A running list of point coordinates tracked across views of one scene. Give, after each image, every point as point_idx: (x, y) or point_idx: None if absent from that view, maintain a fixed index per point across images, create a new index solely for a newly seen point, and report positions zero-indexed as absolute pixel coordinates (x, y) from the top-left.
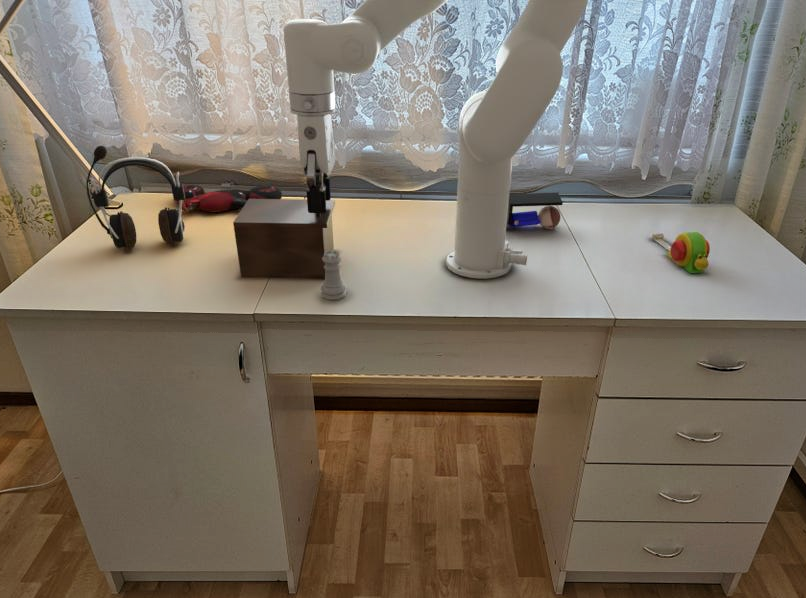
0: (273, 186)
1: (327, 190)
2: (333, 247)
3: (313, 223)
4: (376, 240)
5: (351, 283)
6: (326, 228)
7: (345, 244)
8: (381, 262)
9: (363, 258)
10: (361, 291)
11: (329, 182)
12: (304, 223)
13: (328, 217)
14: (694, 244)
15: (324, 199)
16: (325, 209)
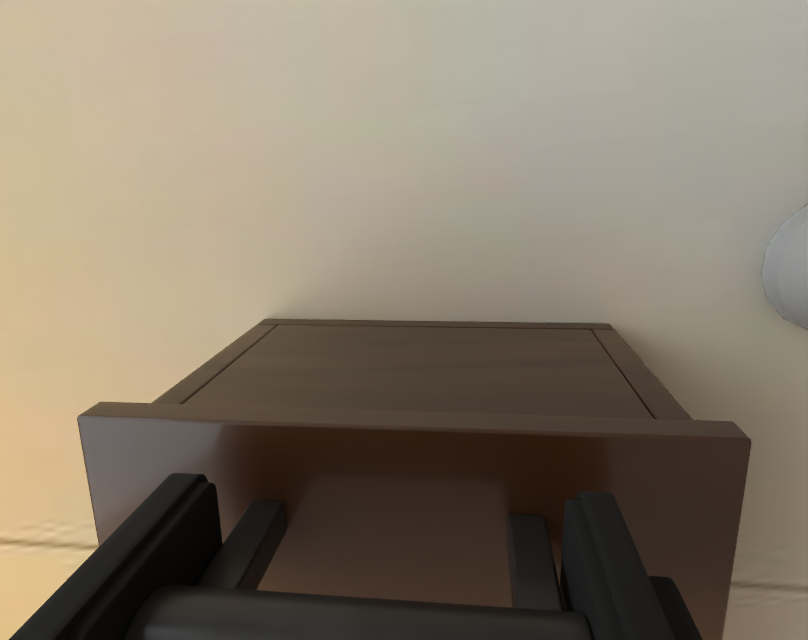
0: None
1: (161, 559)
2: (262, 325)
3: (732, 557)
4: (72, 92)
5: (672, 182)
6: (485, 412)
7: (158, 267)
8: (382, 29)
9: (334, 146)
10: (785, 113)
11: (80, 605)
12: (720, 628)
13: (564, 438)
14: None
15: (656, 601)
16: (618, 511)
